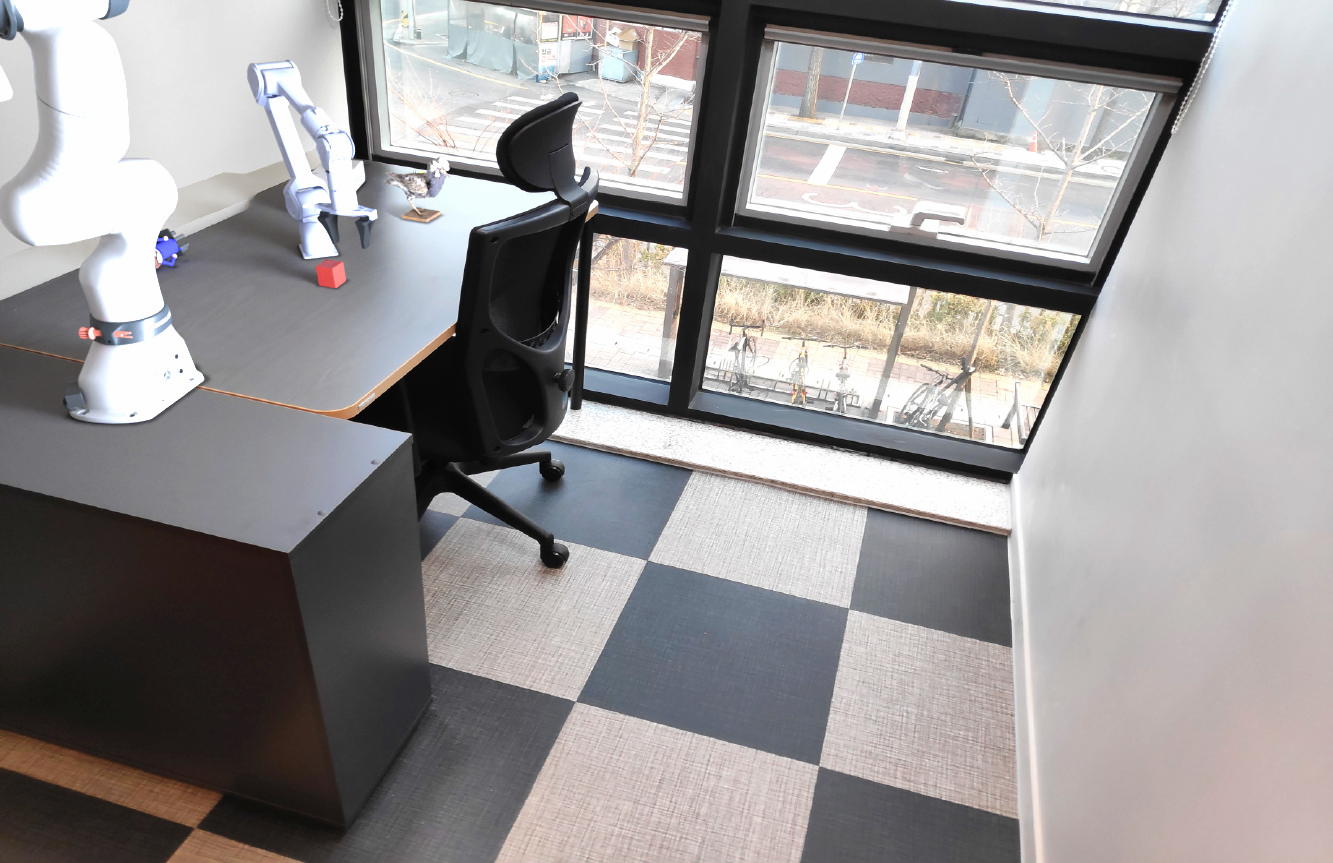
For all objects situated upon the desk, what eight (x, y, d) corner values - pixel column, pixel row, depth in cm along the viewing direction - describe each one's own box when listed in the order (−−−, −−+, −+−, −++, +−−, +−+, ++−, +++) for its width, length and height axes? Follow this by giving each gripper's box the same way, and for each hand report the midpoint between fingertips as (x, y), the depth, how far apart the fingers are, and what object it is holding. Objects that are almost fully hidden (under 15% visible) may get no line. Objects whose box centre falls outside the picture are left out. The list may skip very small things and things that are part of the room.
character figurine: (198, 256, 199) (155, 280, 187) (170, 250, 200) (126, 274, 187) (191, 225, 195) (148, 248, 182) (163, 220, 195) (117, 242, 183)
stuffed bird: (455, 224, 227) (450, 161, 218) (382, 221, 226) (373, 157, 216) (461, 212, 235) (456, 151, 226) (390, 209, 234) (382, 147, 225)
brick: (346, 280, 192) (342, 261, 190) (335, 288, 189) (332, 268, 186) (329, 278, 193) (326, 259, 190) (319, 285, 189) (315, 266, 187)
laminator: (328, 178, 253) (325, 158, 250) (369, 180, 254) (366, 160, 251) (291, 215, 225) (287, 193, 222) (337, 217, 226) (333, 195, 222)
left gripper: (4, 42, 143) (33, 124, 151) (-104, 32, 145) (-70, 114, 152) (-25, 47, 138) (6, 132, 146) (-137, 37, 139) (-100, 121, 147)
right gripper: (379, 186, 188) (387, 243, 196) (321, 179, 190) (331, 235, 197) (364, 195, 182) (373, 253, 190) (304, 188, 184) (315, 245, 192)
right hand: (350, 245), depth 193 cm, fingers open, 7 cm apart
